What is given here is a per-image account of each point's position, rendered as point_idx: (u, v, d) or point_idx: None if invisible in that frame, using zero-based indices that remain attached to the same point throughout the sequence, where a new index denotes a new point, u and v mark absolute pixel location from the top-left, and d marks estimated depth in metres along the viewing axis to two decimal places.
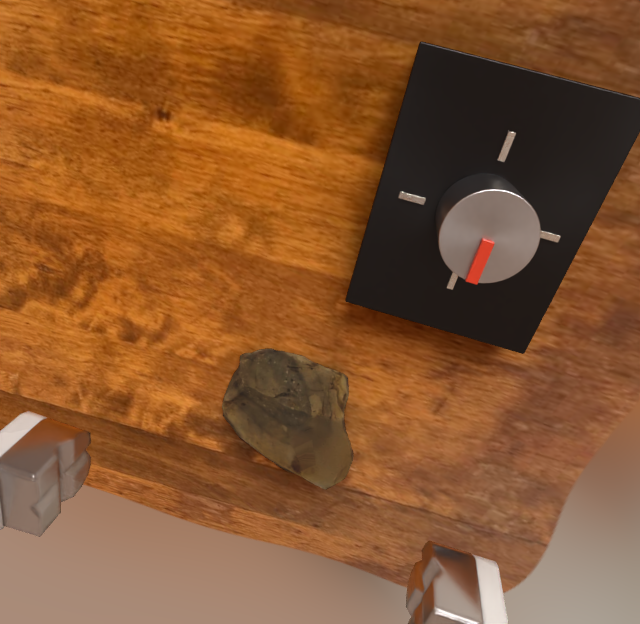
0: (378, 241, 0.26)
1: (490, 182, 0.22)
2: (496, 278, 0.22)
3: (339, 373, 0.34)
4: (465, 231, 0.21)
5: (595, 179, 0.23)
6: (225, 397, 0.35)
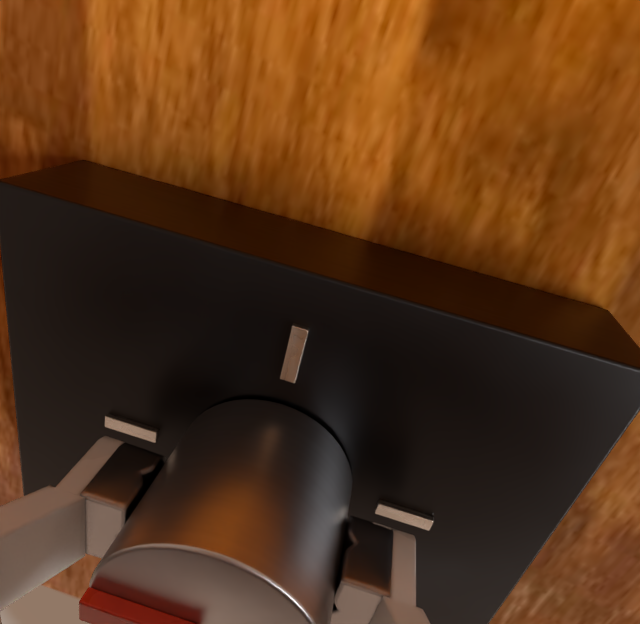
0: (177, 274, 0.10)
1: (337, 574, 0.09)
2: None
3: None
4: (209, 598, 0.08)
5: None
6: None
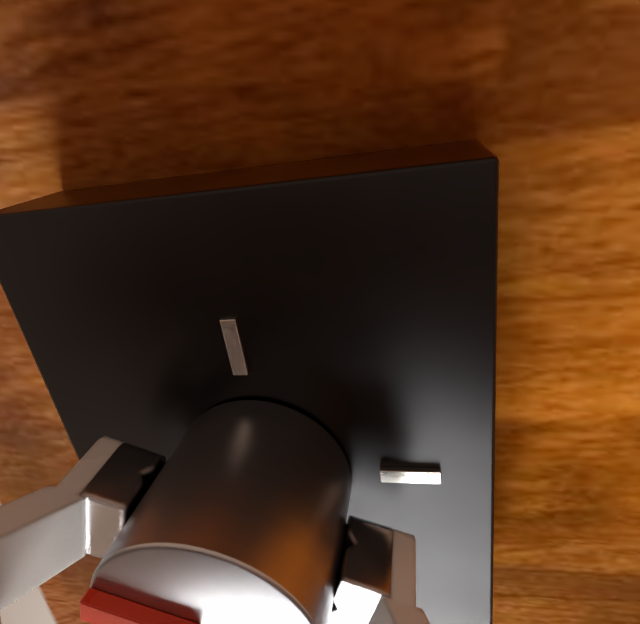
0: (450, 369, 0.10)
1: (337, 573, 0.09)
2: None
3: None
4: (210, 597, 0.08)
5: None
6: None
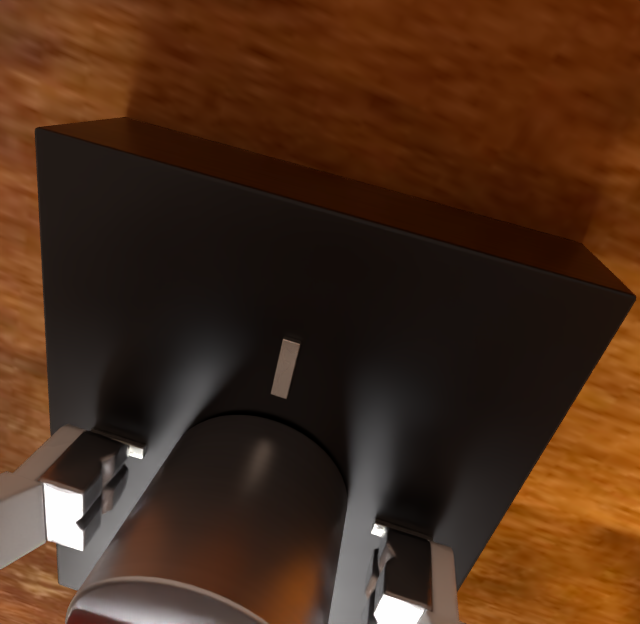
0: (489, 459, 0.10)
1: (330, 599, 0.09)
2: None
3: None
4: None
5: None
6: None
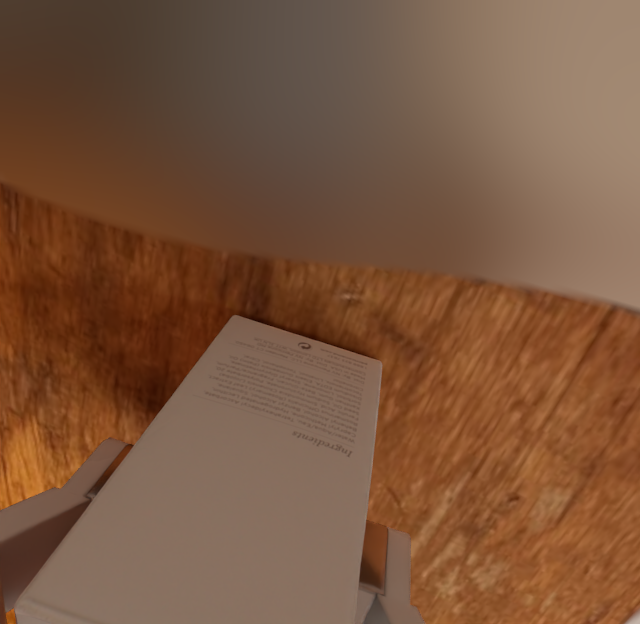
0: None
1: None
2: None
3: None
4: None
5: None
6: None
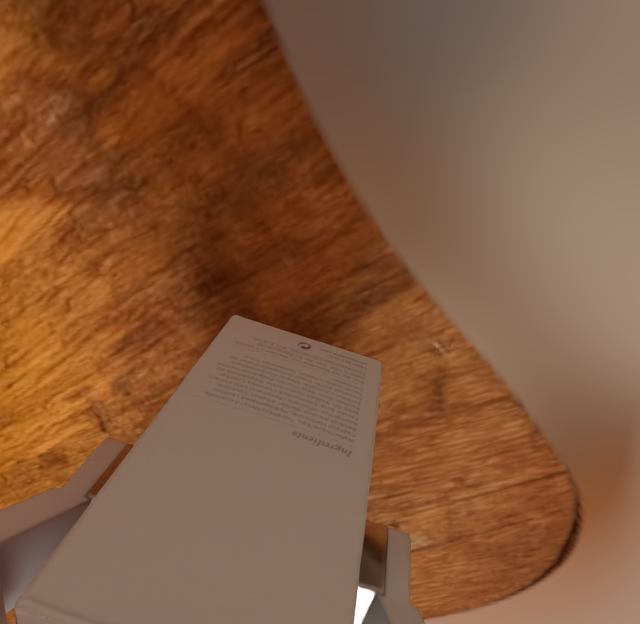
0: None
1: None
2: None
3: None
4: None
5: None
6: None
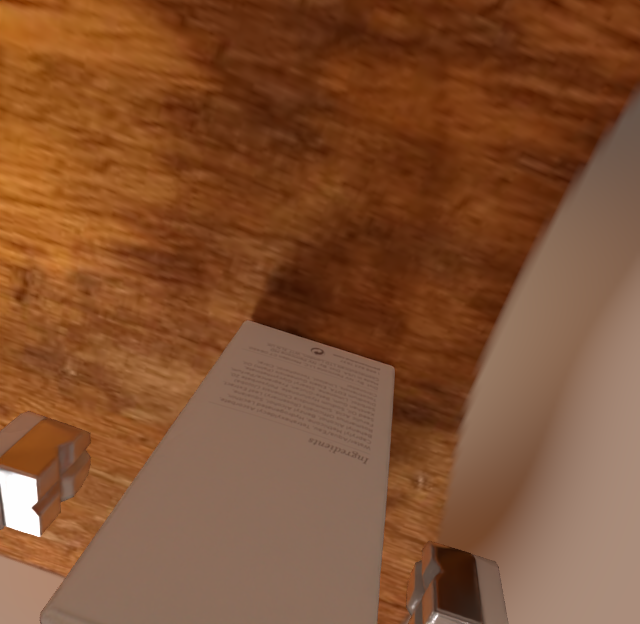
0: None
1: None
2: None
3: None
4: None
5: None
6: None
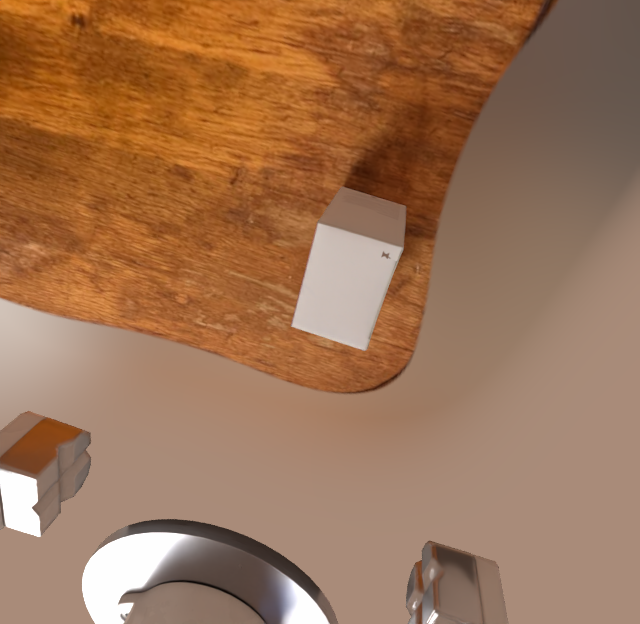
0: None
1: None
2: None
3: None
4: None
5: None
6: None
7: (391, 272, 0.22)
